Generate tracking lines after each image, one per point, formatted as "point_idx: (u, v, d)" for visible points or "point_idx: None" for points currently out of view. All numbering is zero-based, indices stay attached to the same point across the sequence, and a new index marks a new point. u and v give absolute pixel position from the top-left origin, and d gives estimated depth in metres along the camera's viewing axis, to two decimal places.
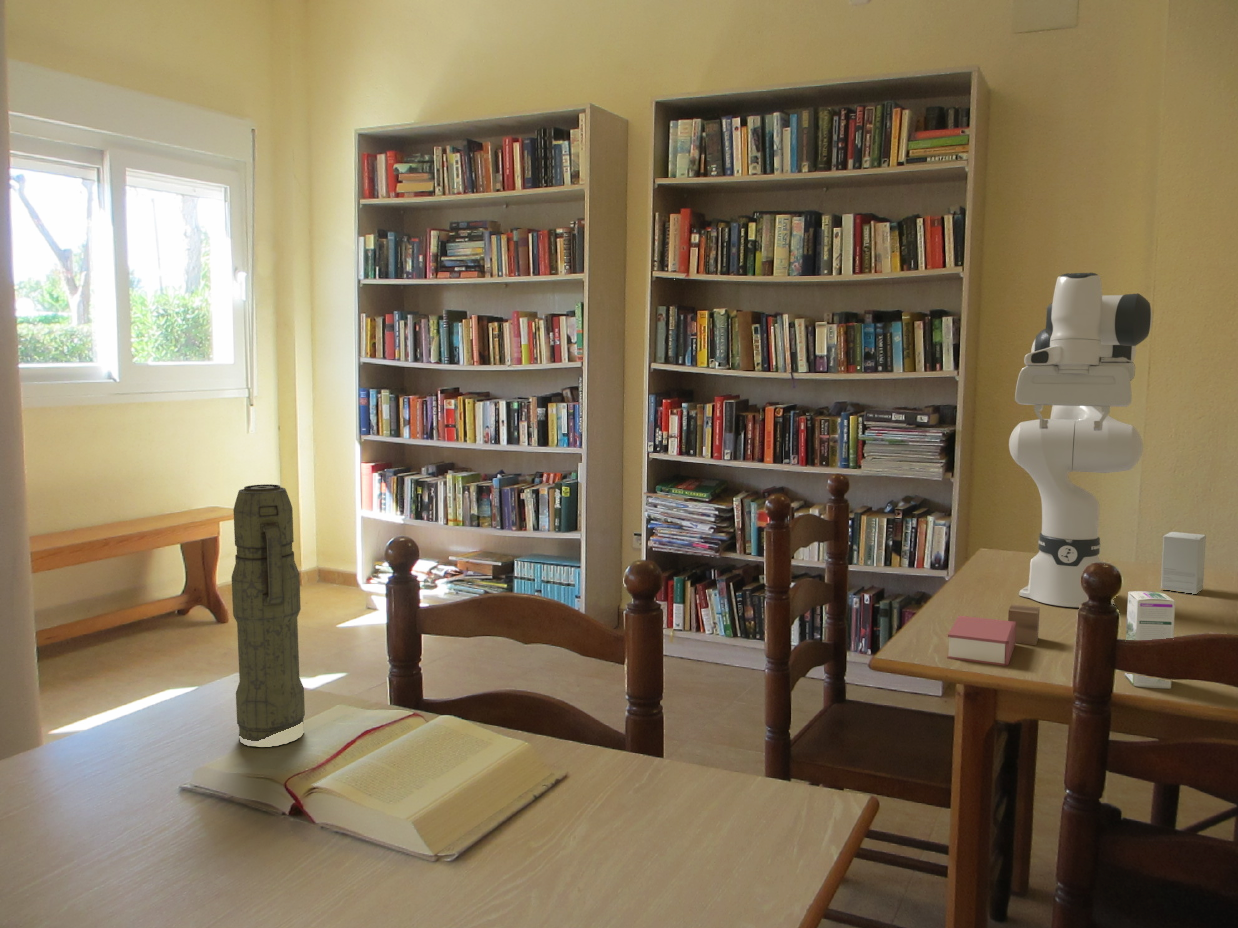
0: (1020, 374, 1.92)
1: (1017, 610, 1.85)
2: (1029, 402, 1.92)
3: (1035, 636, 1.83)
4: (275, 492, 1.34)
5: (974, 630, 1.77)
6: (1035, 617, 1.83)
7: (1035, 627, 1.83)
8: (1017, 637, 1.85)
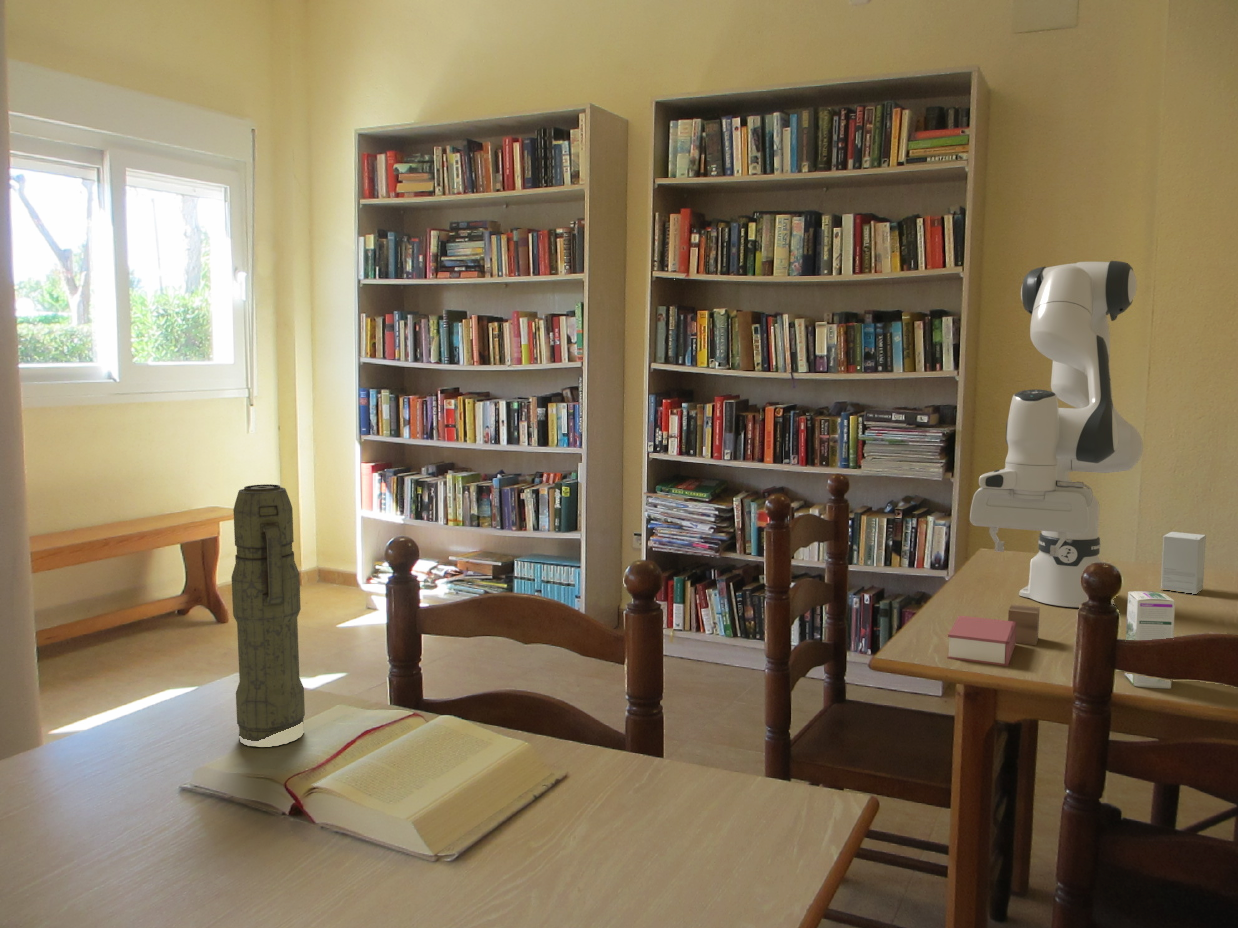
0: (974, 496, 1.85)
1: (1017, 610, 1.85)
2: (984, 525, 1.86)
3: (1035, 636, 1.83)
4: (275, 492, 1.34)
5: (974, 630, 1.77)
6: (1035, 617, 1.83)
7: (1035, 627, 1.83)
8: (1017, 637, 1.85)
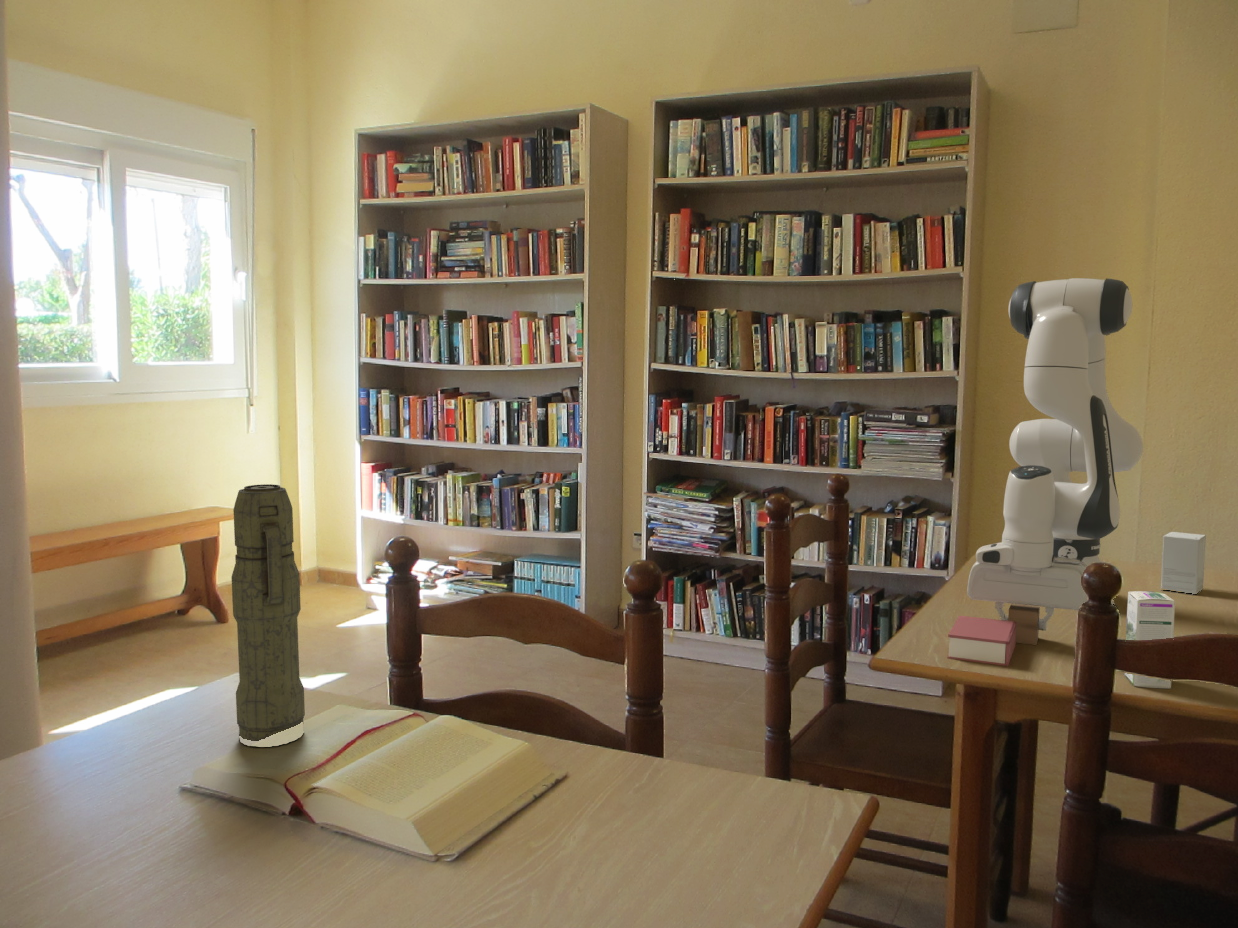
0: (972, 571, 1.87)
1: (1017, 610, 1.85)
2: (981, 599, 1.87)
3: (1035, 636, 1.83)
4: (275, 492, 1.34)
5: (974, 630, 1.77)
6: (1035, 616, 1.83)
7: (1035, 627, 1.83)
8: (1017, 637, 1.85)
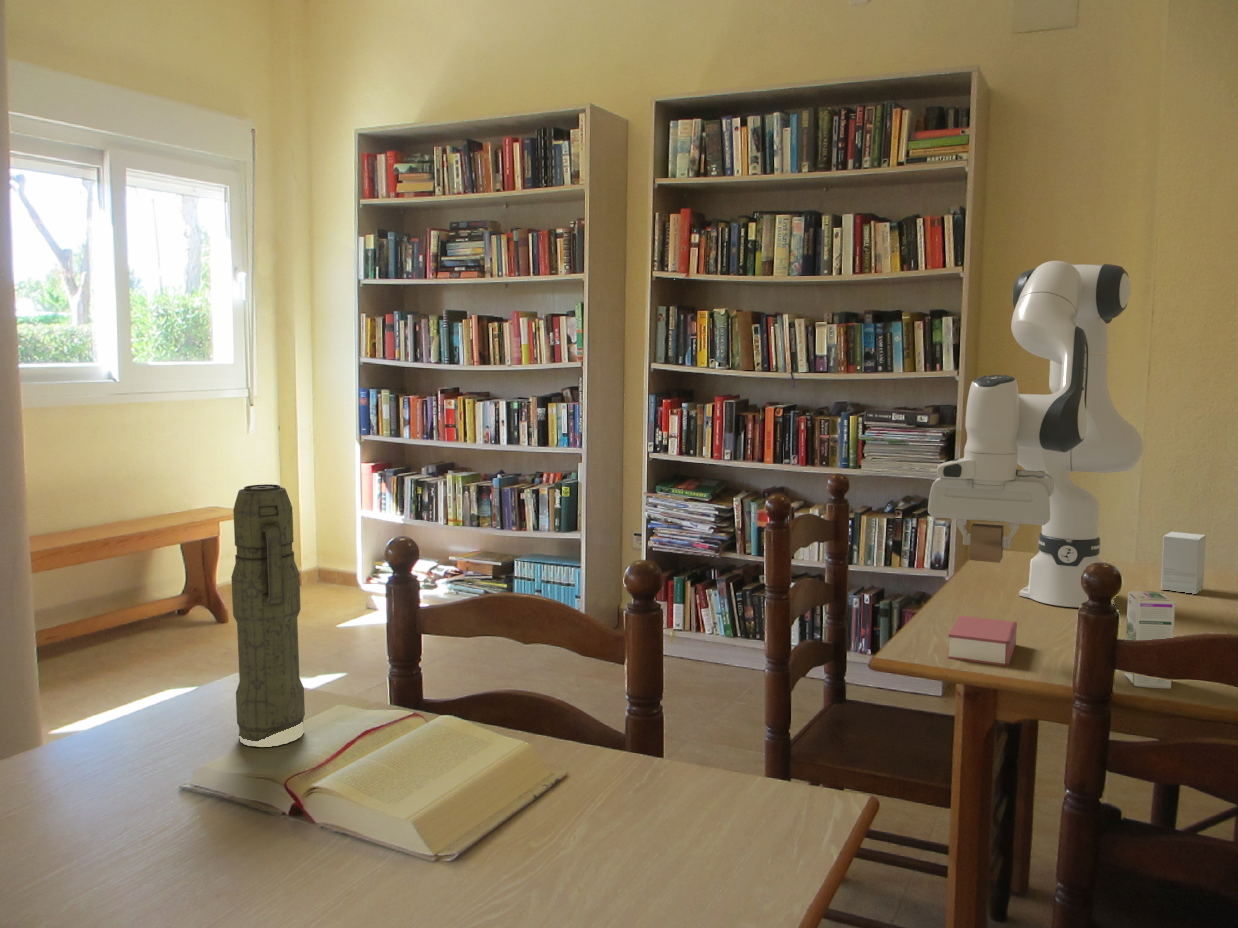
0: (932, 486, 1.78)
1: (980, 526, 1.76)
2: (942, 516, 1.78)
3: (998, 553, 1.74)
4: (275, 492, 1.34)
5: (975, 630, 1.77)
6: (998, 532, 1.74)
7: (998, 543, 1.74)
8: (980, 555, 1.75)
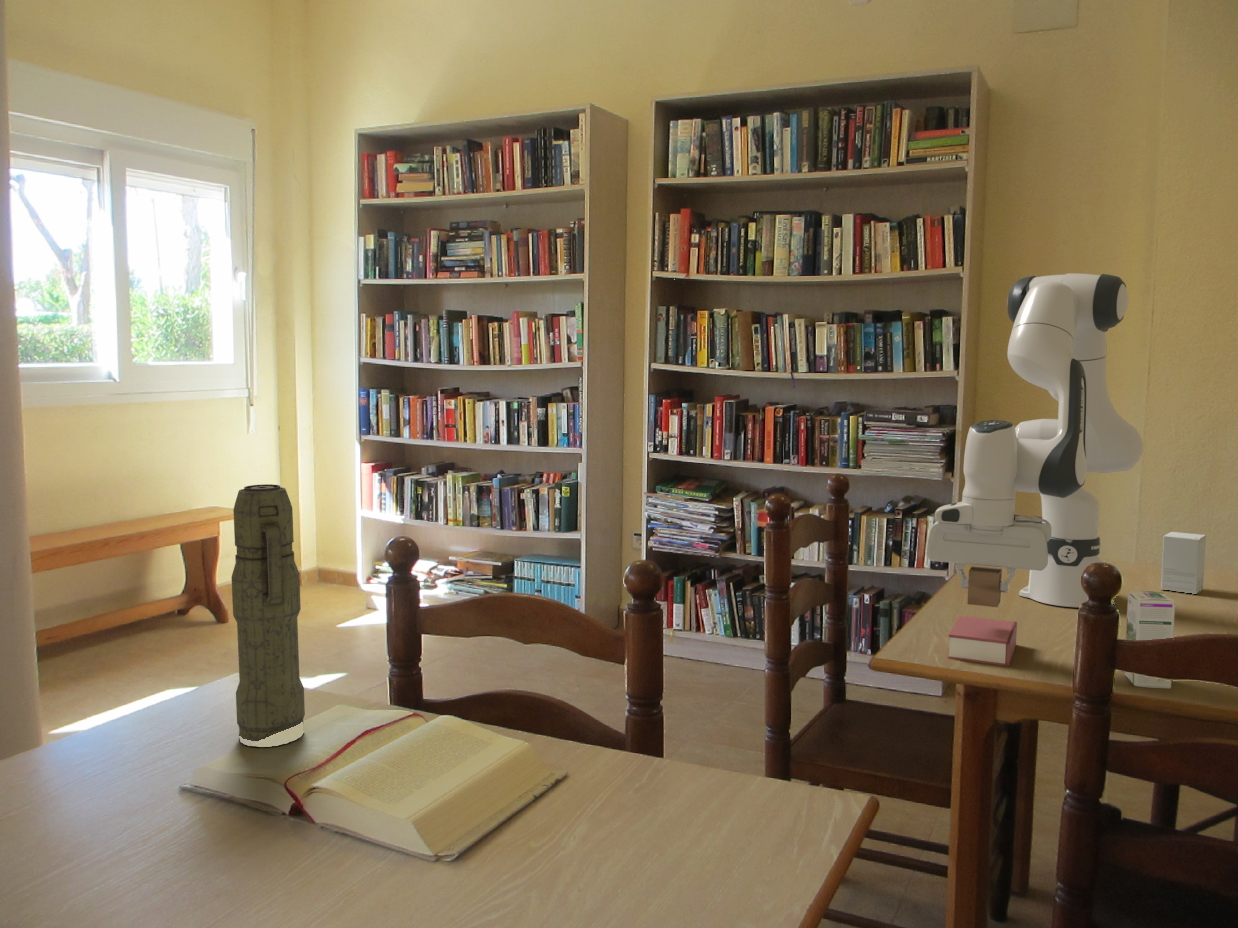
0: (931, 530, 1.79)
1: (978, 571, 1.76)
2: (941, 560, 1.79)
3: (996, 598, 1.75)
4: (275, 492, 1.34)
5: (975, 630, 1.77)
6: (996, 577, 1.74)
7: (996, 588, 1.75)
8: (978, 599, 1.76)
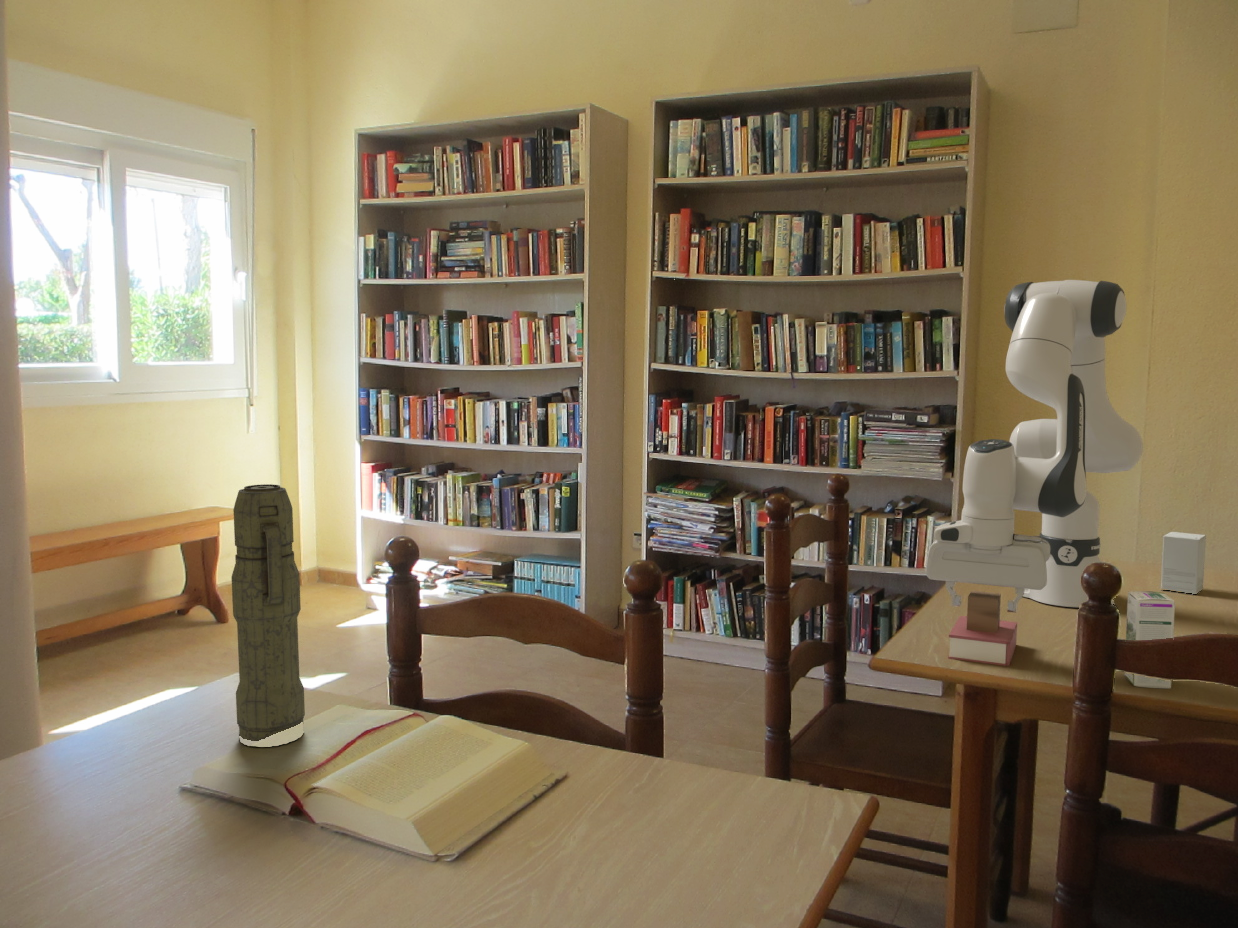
0: (930, 549, 1.79)
1: (977, 596, 1.77)
2: (940, 579, 1.80)
3: (995, 623, 1.76)
4: (275, 492, 1.34)
5: None
6: (995, 603, 1.75)
7: (995, 614, 1.75)
8: (977, 625, 1.77)
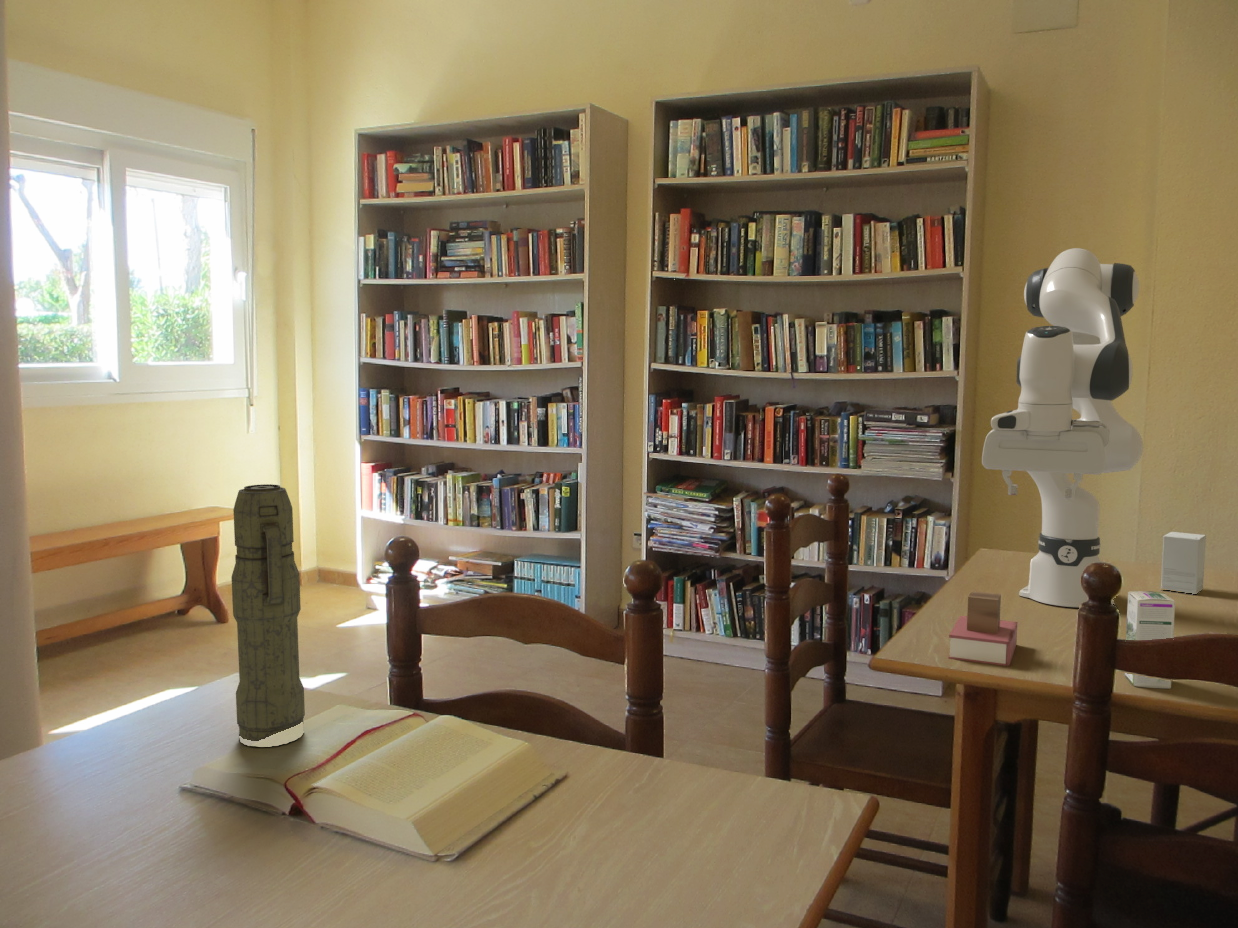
0: (986, 438, 1.79)
1: (977, 597, 1.77)
2: (997, 468, 1.80)
3: (995, 624, 1.75)
4: (275, 492, 1.34)
5: None
6: (995, 604, 1.75)
7: (995, 614, 1.75)
8: (977, 625, 1.77)
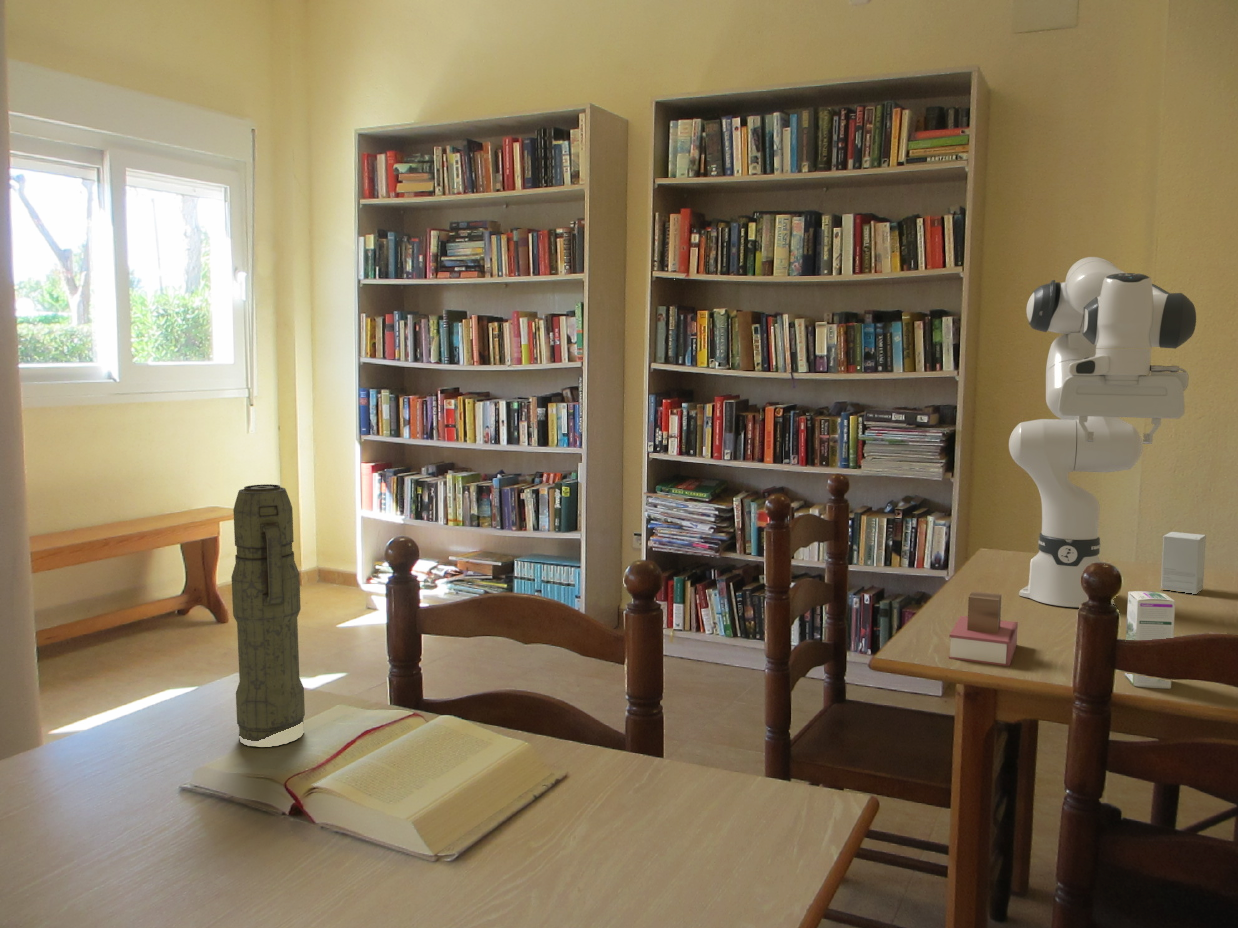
0: (1064, 384, 1.81)
1: (977, 597, 1.77)
2: (1074, 414, 1.81)
3: (996, 624, 1.75)
4: (275, 492, 1.34)
5: None
6: (996, 604, 1.75)
7: (996, 614, 1.75)
8: (977, 625, 1.77)
